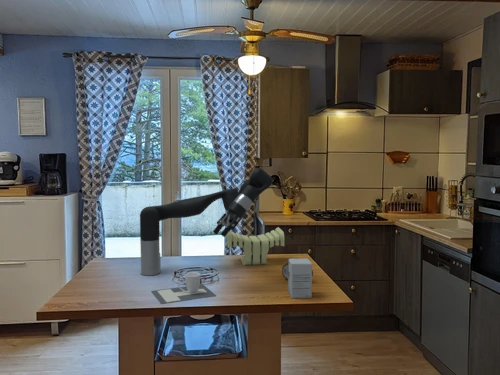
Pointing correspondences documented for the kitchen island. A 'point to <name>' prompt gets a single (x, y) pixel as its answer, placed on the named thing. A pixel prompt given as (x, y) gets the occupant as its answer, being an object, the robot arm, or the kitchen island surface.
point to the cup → (191, 282)
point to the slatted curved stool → (256, 245)
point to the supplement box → (300, 278)
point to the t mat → (181, 294)
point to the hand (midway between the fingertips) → (218, 234)
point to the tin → (285, 270)
